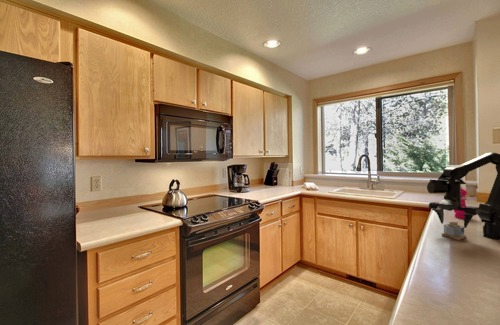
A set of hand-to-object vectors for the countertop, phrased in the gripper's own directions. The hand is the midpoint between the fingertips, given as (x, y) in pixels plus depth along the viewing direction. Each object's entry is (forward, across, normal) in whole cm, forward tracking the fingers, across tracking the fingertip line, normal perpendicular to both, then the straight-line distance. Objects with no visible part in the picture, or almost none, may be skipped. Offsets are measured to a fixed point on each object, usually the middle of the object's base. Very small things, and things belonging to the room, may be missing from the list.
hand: (453, 225), depth 117 cm
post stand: (+5, 0, 0) cm, 5 cm away
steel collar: (+4, 0, 0) cm, 4 cm away
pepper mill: (+6, -16, +49) cm, 52 cm away
